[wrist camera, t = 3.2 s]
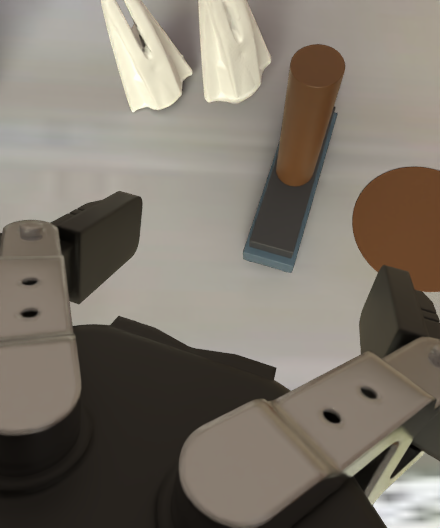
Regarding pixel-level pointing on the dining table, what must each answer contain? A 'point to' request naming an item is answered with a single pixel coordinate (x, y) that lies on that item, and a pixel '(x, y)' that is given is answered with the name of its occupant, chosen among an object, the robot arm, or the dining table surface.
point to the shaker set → (173, 63)
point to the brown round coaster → (402, 224)
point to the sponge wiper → (297, 157)
